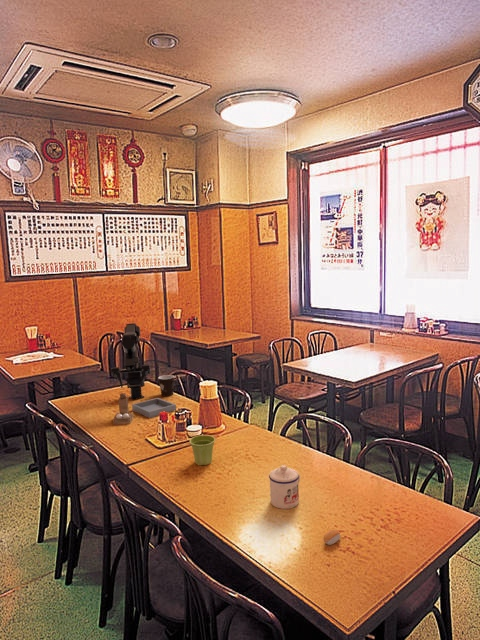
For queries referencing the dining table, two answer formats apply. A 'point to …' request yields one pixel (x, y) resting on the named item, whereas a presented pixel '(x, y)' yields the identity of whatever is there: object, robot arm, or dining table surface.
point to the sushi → (331, 536)
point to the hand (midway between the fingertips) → (131, 387)
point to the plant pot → (202, 449)
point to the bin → (153, 407)
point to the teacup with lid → (284, 487)
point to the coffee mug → (167, 385)
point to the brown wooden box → (123, 411)
